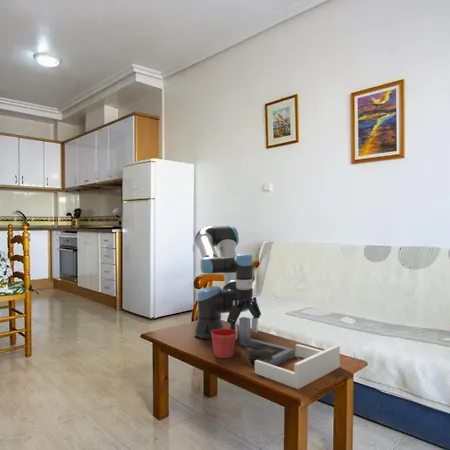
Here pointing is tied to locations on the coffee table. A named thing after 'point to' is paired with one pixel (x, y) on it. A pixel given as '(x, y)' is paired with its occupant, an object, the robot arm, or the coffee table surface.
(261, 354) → the dog figurine
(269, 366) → the low cubby
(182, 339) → the coffee table surface
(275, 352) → the crook
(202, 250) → the robot arm
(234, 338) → the flower pot
